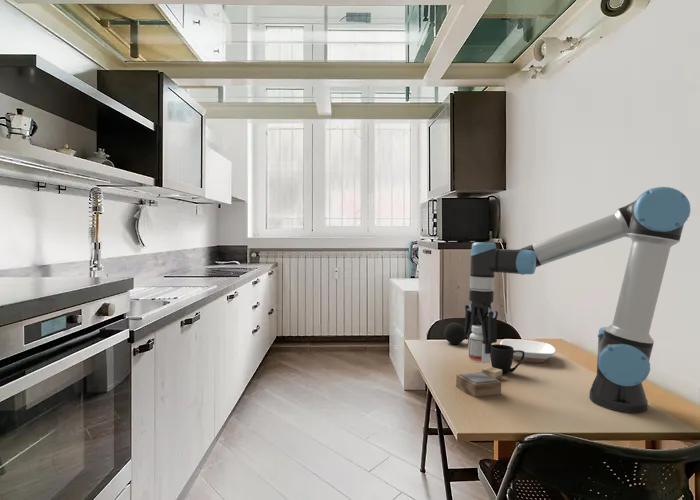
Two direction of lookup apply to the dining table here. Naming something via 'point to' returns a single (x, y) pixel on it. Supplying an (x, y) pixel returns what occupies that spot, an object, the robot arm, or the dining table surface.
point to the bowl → (530, 350)
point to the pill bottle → (476, 344)
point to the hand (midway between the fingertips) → (478, 359)
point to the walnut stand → (478, 384)
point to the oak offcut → (493, 372)
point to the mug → (503, 357)
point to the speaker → (454, 333)
